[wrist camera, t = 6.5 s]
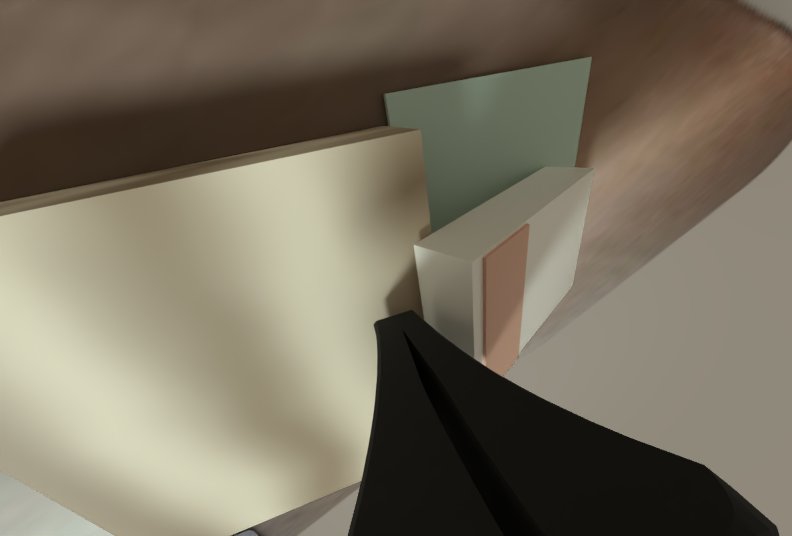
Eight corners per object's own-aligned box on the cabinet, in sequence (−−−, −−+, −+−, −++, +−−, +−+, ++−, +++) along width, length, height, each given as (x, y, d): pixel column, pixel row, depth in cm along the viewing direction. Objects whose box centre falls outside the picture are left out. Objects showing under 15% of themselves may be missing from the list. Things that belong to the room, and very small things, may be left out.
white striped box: (432, 377, 11) (478, 409, 10) (413, 245, 8) (475, 263, 7) (534, 274, 16) (574, 286, 15) (545, 166, 13) (597, 168, 12)
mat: (420, 336, 16) (422, 339, 16) (383, 94, 10) (385, 93, 10) (551, 291, 18) (555, 294, 18) (585, 57, 12) (592, 56, 11)
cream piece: (192, 468, 16) (163, 563, 12) (-71, 216, 8) (-326, 284, 5) (424, 382, 18) (453, 442, 15) (383, 125, 11) (420, 129, 7)
